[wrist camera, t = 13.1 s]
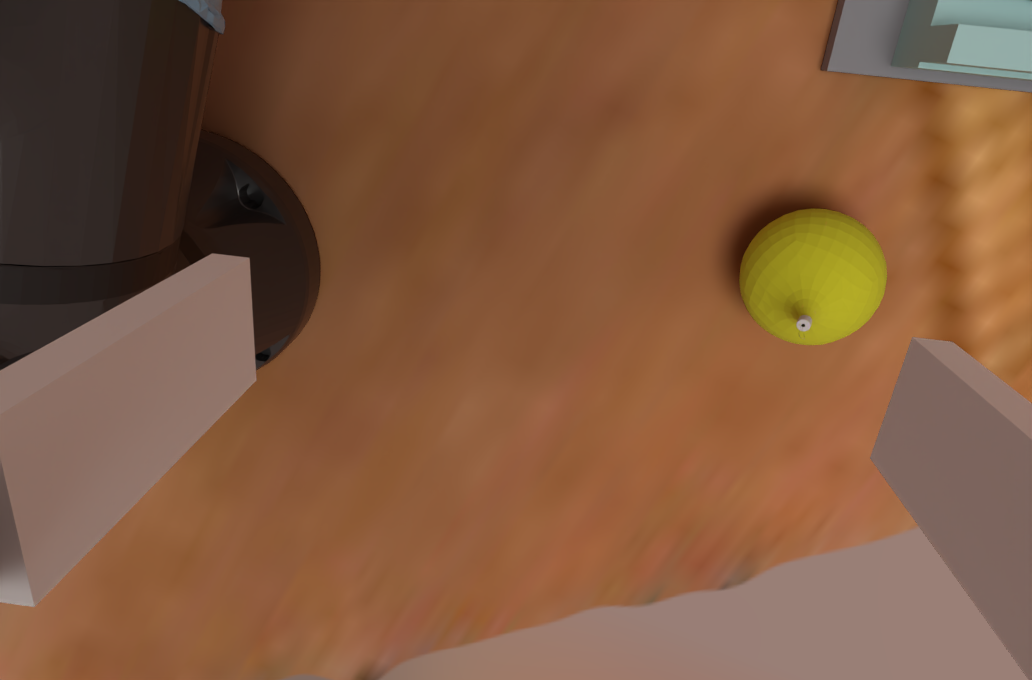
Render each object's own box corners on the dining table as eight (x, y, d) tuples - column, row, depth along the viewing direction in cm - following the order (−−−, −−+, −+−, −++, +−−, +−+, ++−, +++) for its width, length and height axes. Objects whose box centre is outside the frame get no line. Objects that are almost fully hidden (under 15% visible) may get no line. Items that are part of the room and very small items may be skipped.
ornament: (702, 275, 40) (738, 341, 31) (783, 171, 38) (849, 210, 29) (798, 338, 41) (860, 420, 32) (884, 241, 39) (978, 300, 30)
